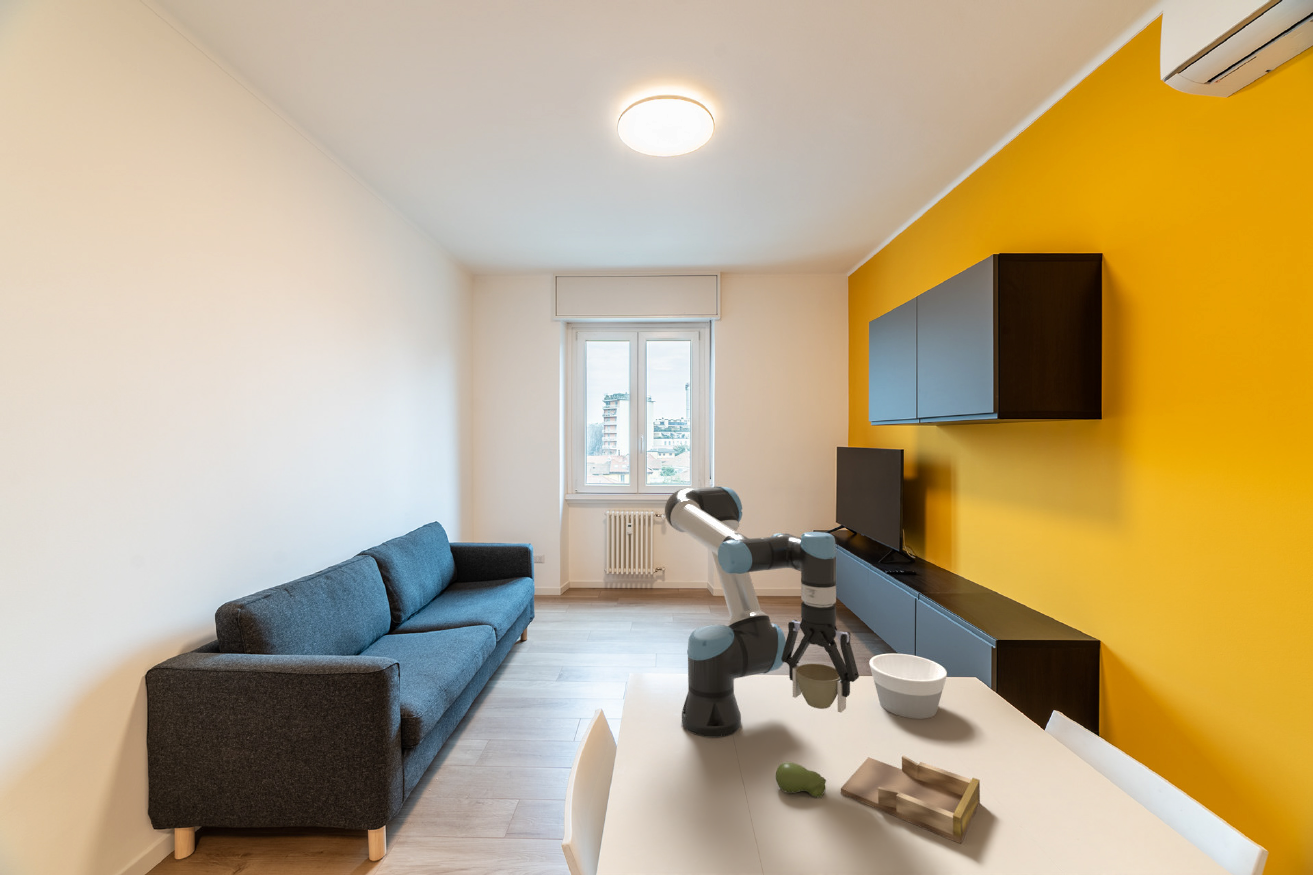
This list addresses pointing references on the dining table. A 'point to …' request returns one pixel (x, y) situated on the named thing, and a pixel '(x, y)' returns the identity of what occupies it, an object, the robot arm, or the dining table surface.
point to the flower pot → (818, 684)
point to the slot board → (918, 795)
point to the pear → (799, 779)
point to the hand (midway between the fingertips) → (818, 702)
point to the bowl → (908, 684)
